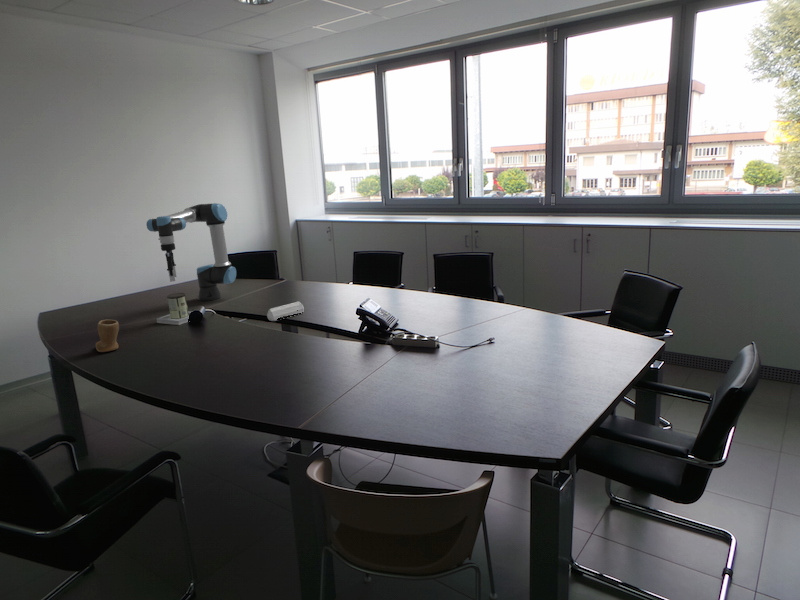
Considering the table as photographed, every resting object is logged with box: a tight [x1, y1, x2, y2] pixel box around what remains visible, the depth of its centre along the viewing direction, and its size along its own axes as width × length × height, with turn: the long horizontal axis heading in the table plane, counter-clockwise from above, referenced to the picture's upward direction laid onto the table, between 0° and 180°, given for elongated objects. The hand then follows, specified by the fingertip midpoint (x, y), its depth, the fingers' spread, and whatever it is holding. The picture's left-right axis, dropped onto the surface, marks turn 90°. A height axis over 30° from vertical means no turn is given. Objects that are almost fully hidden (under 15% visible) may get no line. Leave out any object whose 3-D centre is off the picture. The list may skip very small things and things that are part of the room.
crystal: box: [266, 301, 305, 322], centre depth 306 cm, size 7×7×24 cm
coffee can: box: [166, 292, 189, 320], centre depth 313 cm, size 10×10×14 cm
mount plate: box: [156, 310, 192, 326], centre depth 314 cm, size 18×18×2 cm
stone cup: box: [95, 319, 120, 353], centre depth 264 cm, size 15×12×15 cm
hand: (173, 279), depth 308 cm, fingers open, 13 cm apart
